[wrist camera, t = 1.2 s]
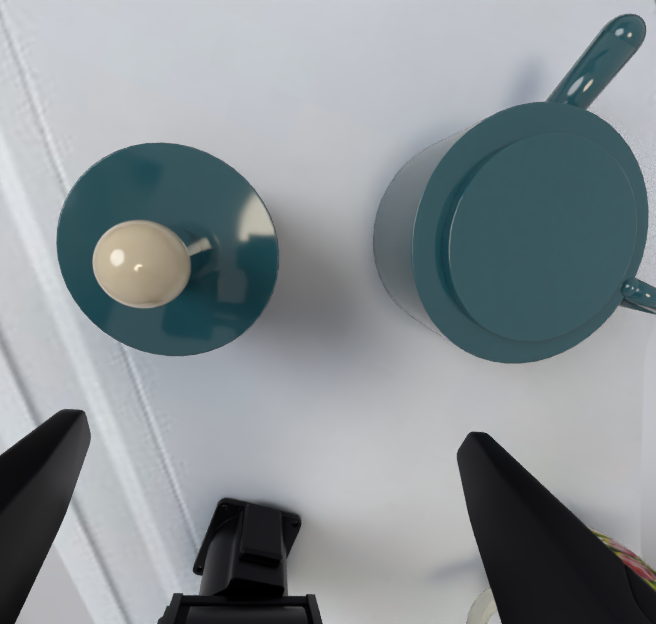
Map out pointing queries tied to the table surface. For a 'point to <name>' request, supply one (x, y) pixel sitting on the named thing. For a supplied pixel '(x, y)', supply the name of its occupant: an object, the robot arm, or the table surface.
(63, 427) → the robot arm
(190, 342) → the teapot lid
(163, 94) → the table surface
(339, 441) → the table surface
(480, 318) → the teapot
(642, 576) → the pitcher
